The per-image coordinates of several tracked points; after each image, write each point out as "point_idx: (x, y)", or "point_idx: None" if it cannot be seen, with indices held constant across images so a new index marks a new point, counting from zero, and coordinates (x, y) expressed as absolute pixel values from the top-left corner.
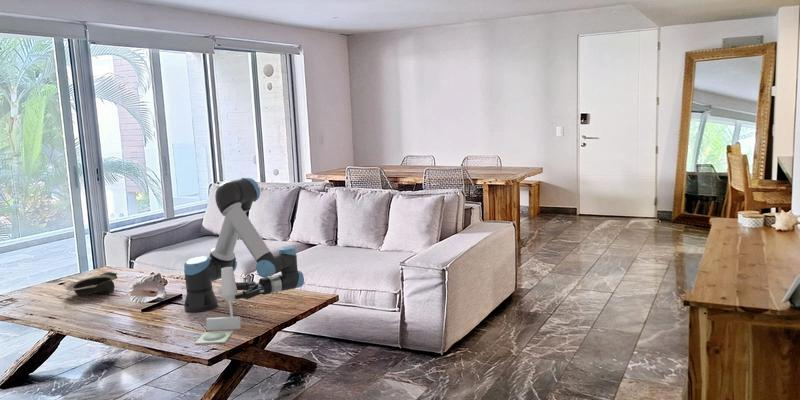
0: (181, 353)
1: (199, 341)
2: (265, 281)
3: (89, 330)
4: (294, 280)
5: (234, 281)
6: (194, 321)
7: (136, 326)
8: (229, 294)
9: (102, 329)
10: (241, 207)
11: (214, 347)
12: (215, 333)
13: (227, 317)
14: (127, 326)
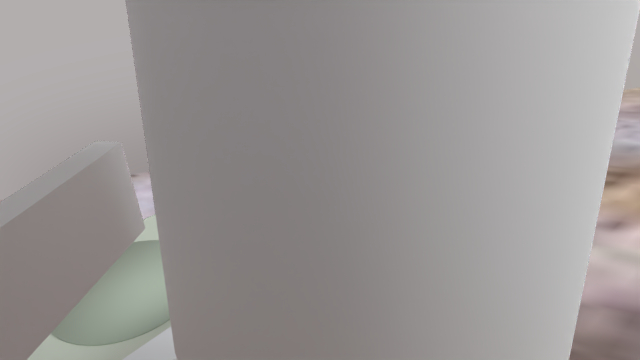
0: (137, 175)
1: (156, 225)
2: None
3: (632, 97)
4: None
5: (136, 2)
6: (588, 316)
7: (621, 153)
8: (79, 164)
9: (628, 109)
10: None
11: None
12: (165, 304)
13: (157, 355)
14: (636, 140)
